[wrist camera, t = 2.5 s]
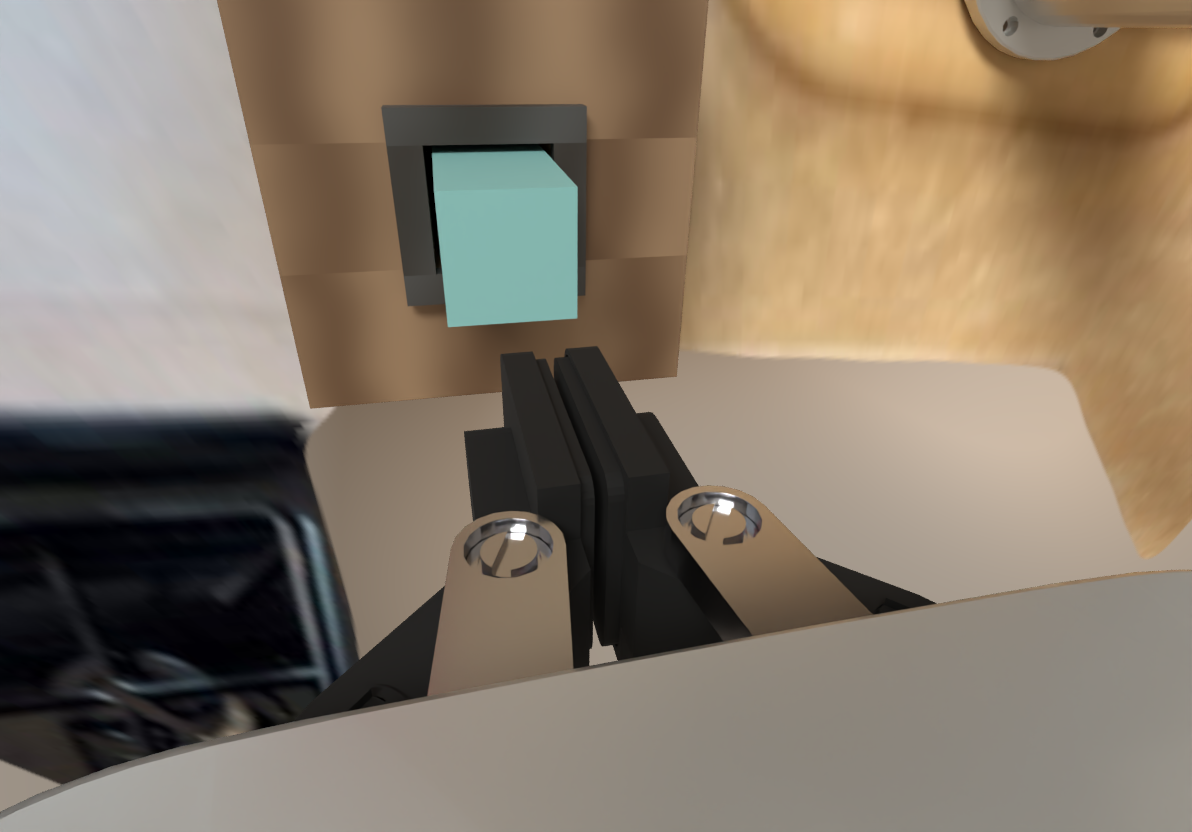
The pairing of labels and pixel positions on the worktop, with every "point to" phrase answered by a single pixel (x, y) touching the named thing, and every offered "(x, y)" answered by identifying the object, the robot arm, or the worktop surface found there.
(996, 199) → the worktop surface
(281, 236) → the socket block
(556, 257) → the peg
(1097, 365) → the worktop surface
